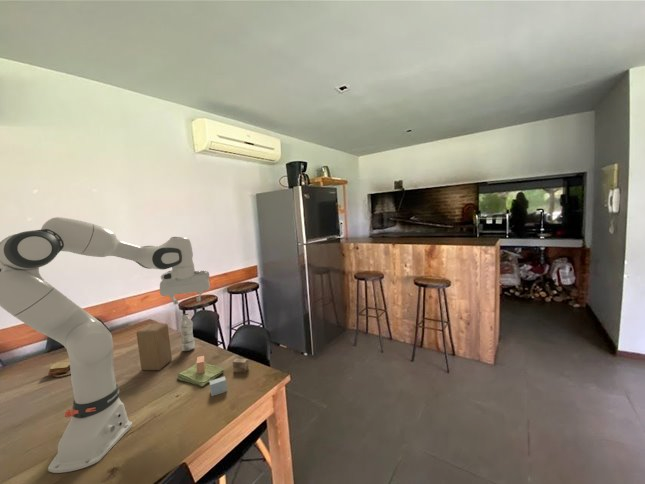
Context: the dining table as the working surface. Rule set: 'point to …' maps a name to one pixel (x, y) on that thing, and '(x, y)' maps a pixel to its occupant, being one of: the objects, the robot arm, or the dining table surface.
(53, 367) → the toy sandwich meal
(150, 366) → the block
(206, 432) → the dining table surface
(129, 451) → the dining table surface
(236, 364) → the brick walnut
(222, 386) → the brick slate
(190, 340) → the plastic bottle
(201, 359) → the brick terracotta
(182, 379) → the washcloth
